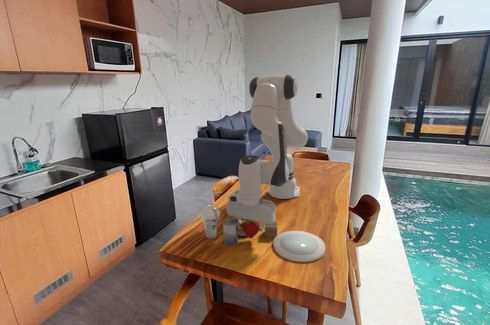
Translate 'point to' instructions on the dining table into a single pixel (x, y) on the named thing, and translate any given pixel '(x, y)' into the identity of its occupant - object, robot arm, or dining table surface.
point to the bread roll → (241, 230)
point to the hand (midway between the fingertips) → (250, 228)
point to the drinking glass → (230, 231)
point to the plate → (299, 246)
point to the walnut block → (271, 230)
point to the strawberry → (250, 228)
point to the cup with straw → (210, 218)
